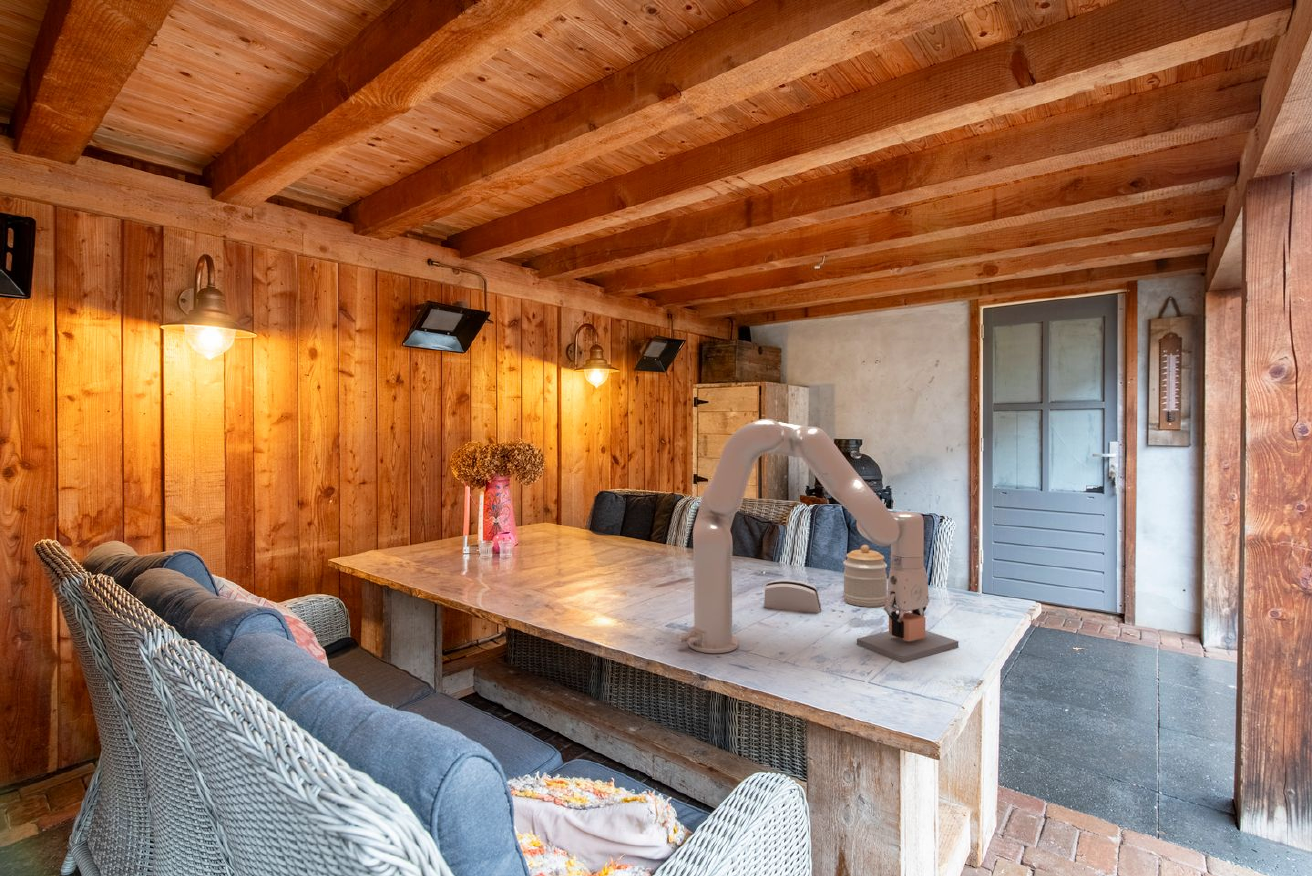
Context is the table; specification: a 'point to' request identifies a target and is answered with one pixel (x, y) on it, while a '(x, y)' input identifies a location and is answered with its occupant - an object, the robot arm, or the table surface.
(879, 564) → the jar
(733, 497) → the robot arm
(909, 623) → the collar
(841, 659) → the table surface
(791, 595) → the half-round card holder
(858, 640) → the post plate
